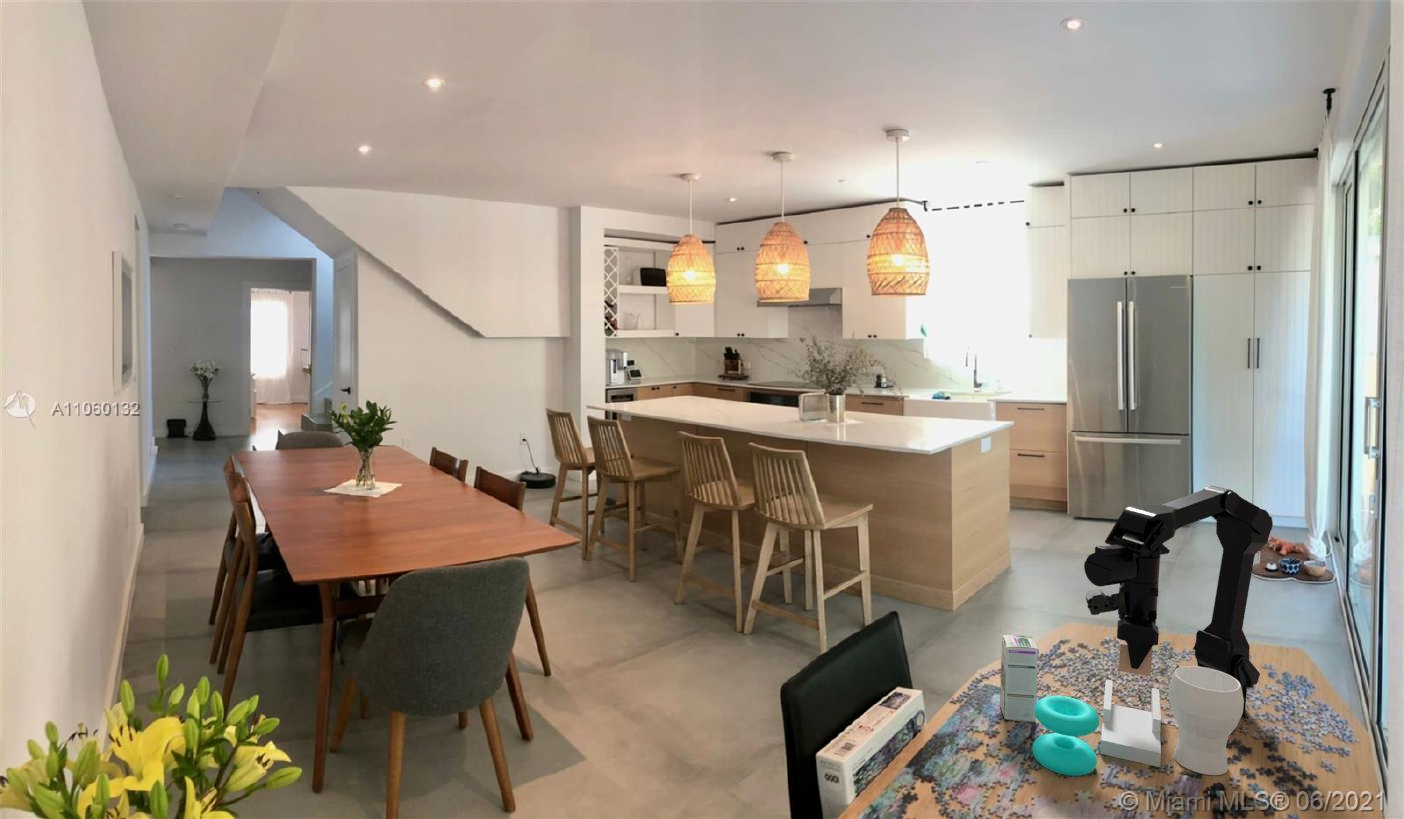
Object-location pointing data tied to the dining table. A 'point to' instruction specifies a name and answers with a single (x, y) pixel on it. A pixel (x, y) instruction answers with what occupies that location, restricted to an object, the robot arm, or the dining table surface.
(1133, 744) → the grey channel
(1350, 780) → the dining table surface
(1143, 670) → the terracotta cube
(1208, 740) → the cup
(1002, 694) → the syrup box
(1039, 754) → the donuts
